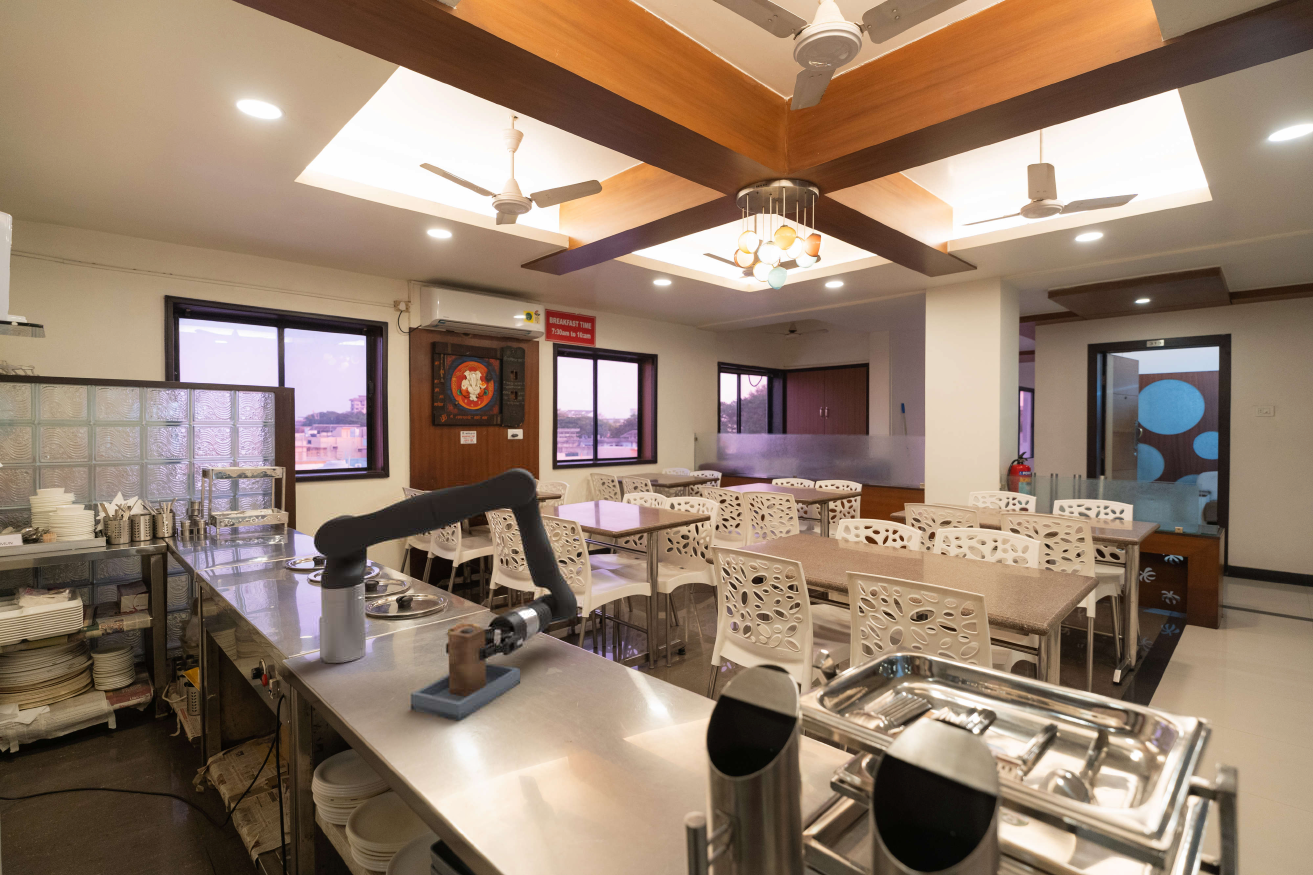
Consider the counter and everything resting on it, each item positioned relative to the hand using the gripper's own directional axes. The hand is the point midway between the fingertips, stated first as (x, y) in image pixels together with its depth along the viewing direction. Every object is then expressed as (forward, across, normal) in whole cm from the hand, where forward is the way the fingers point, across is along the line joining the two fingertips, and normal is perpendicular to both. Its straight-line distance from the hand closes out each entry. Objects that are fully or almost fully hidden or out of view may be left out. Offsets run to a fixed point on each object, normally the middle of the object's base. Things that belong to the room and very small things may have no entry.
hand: (463, 652), depth 121 cm
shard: (-30, -26, +10) cm, 41 cm away
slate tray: (-1, 0, +9) cm, 9 cm away
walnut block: (-1, 0, +8) cm, 8 cm away
